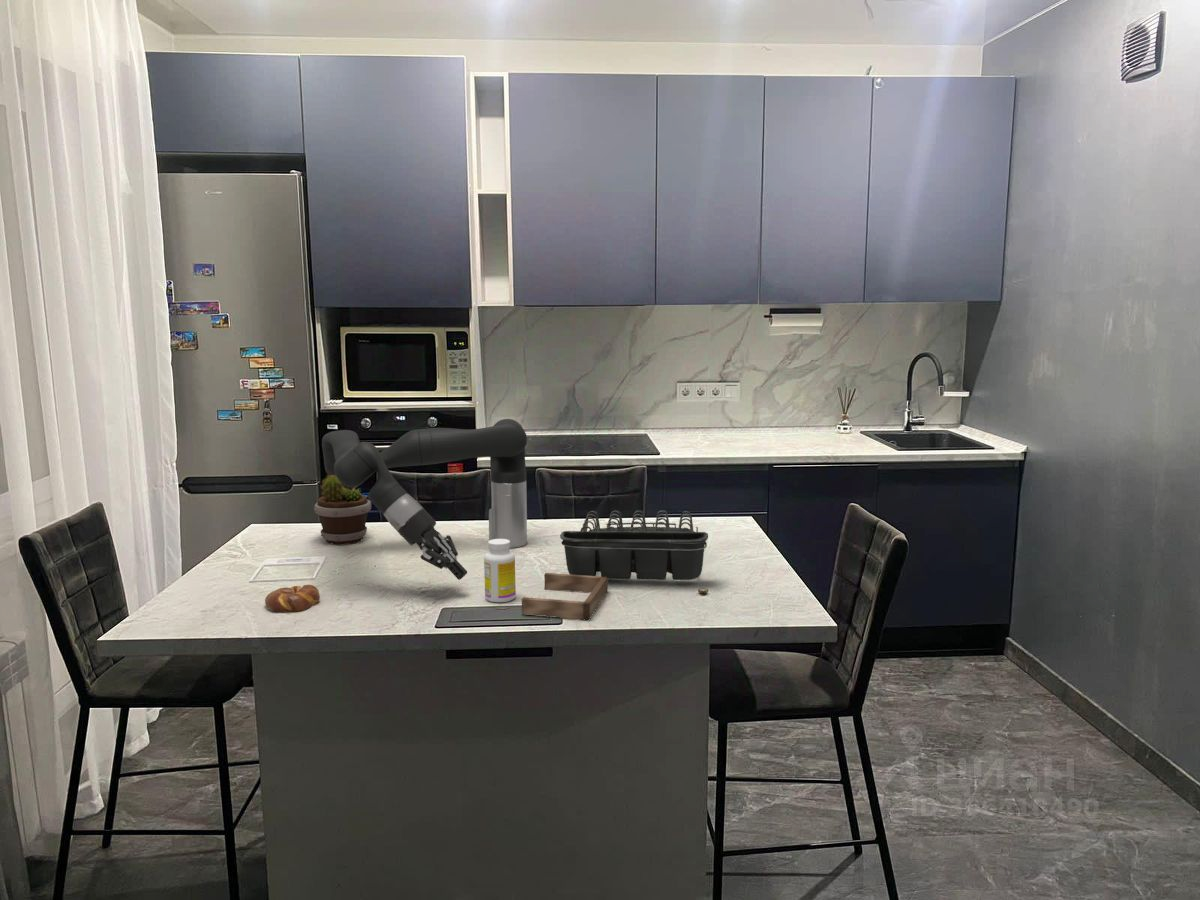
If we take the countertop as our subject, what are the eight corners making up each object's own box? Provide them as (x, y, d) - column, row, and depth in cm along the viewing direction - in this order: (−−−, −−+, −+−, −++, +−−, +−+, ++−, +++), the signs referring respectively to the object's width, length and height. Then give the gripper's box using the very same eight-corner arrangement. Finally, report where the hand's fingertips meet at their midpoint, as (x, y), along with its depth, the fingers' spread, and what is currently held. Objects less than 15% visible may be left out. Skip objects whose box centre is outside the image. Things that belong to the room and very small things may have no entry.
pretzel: (298, 593, 198) (297, 577, 198) (333, 601, 193) (332, 585, 192) (253, 608, 188) (252, 591, 188) (288, 617, 183) (287, 600, 182)
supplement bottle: (520, 595, 196) (519, 538, 194) (507, 605, 190) (506, 546, 188) (493, 592, 198) (492, 536, 196) (479, 601, 192) (478, 543, 190)
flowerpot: (347, 530, 251) (344, 460, 248) (384, 539, 242) (381, 466, 239) (304, 541, 240) (300, 468, 236) (340, 551, 231) (337, 475, 227)
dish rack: (557, 586, 203) (557, 535, 201) (580, 536, 246) (580, 493, 244) (707, 592, 200) (708, 539, 198) (704, 540, 243) (705, 496, 241)
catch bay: (521, 615, 184) (521, 598, 183) (546, 587, 201) (545, 572, 201) (588, 620, 181) (588, 604, 180) (607, 592, 198) (607, 576, 198)
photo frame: (326, 555, 224) (314, 577, 207) (326, 559, 224) (315, 581, 207) (265, 557, 222) (248, 579, 205) (266, 562, 222) (249, 584, 205)
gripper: (411, 522, 203) (463, 578, 202) (385, 537, 190) (441, 596, 190) (432, 501, 201) (485, 557, 200) (407, 514, 188) (463, 574, 188)
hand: (463, 576), depth 195 cm, fingers closed
